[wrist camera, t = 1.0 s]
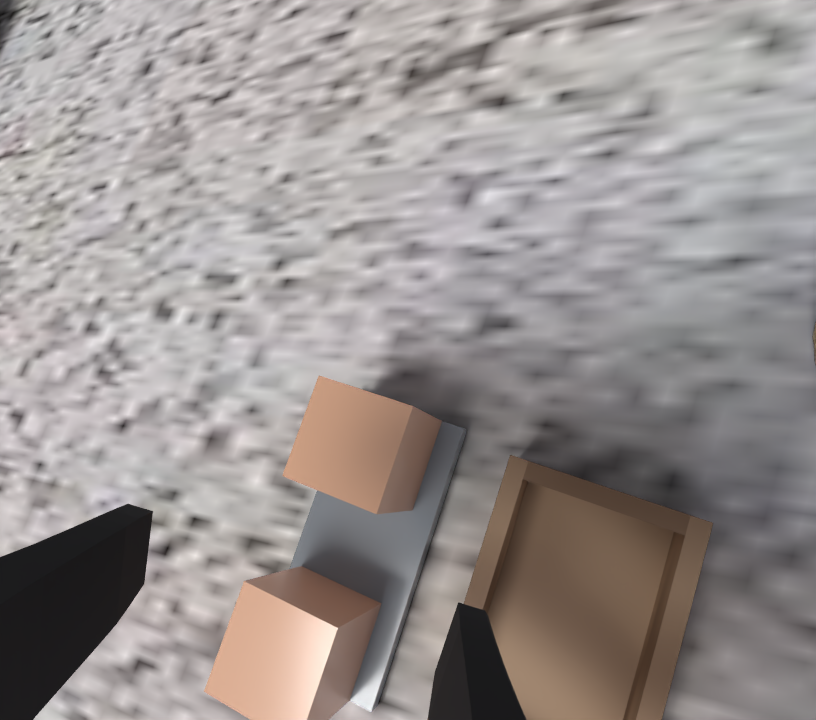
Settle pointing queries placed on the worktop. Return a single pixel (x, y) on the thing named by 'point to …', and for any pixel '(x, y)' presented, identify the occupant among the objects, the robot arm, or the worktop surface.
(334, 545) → the slate board
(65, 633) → the robot arm
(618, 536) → the walnut bin
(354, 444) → the tan cube
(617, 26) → the worktop surface
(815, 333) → the coral
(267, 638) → the peach cube
